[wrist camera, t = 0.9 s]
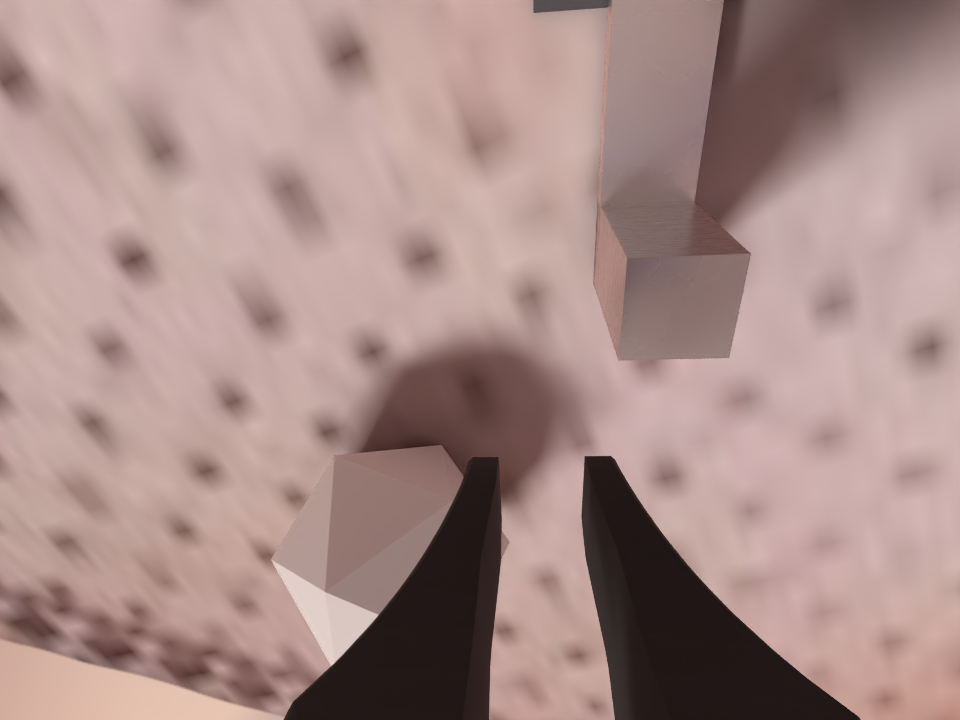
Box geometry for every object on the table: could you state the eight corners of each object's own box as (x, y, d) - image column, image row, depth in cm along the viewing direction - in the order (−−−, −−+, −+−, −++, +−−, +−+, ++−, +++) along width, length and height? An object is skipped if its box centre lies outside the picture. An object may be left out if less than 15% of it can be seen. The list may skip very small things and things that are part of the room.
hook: (1090, -372, 12) (1525, -680, 7) (873, 269, 19) (998, 351, 14) (623, -317, 12) (697, -555, 7) (592, 279, 20) (618, 360, 15)
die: (319, 386, 24) (188, 613, 20) (480, 417, 19) (347, 728, 15) (417, 462, 30) (331, 647, 26) (559, 500, 25) (479, 737, 21)
